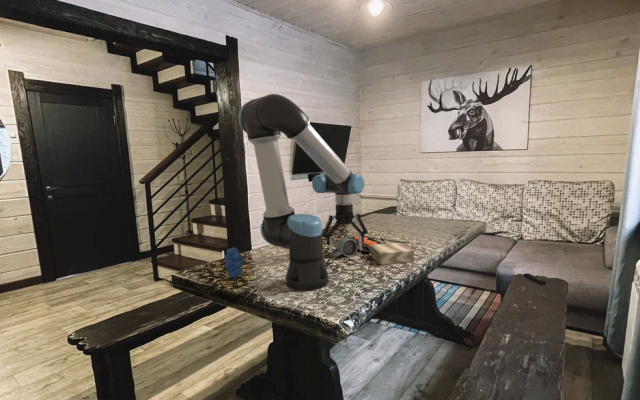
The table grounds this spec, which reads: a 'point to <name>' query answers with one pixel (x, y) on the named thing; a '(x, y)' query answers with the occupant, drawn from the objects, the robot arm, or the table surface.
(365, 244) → the sushi plate
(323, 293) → the table surface
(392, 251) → the birch block
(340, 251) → the ceramic mug
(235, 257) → the grapes
